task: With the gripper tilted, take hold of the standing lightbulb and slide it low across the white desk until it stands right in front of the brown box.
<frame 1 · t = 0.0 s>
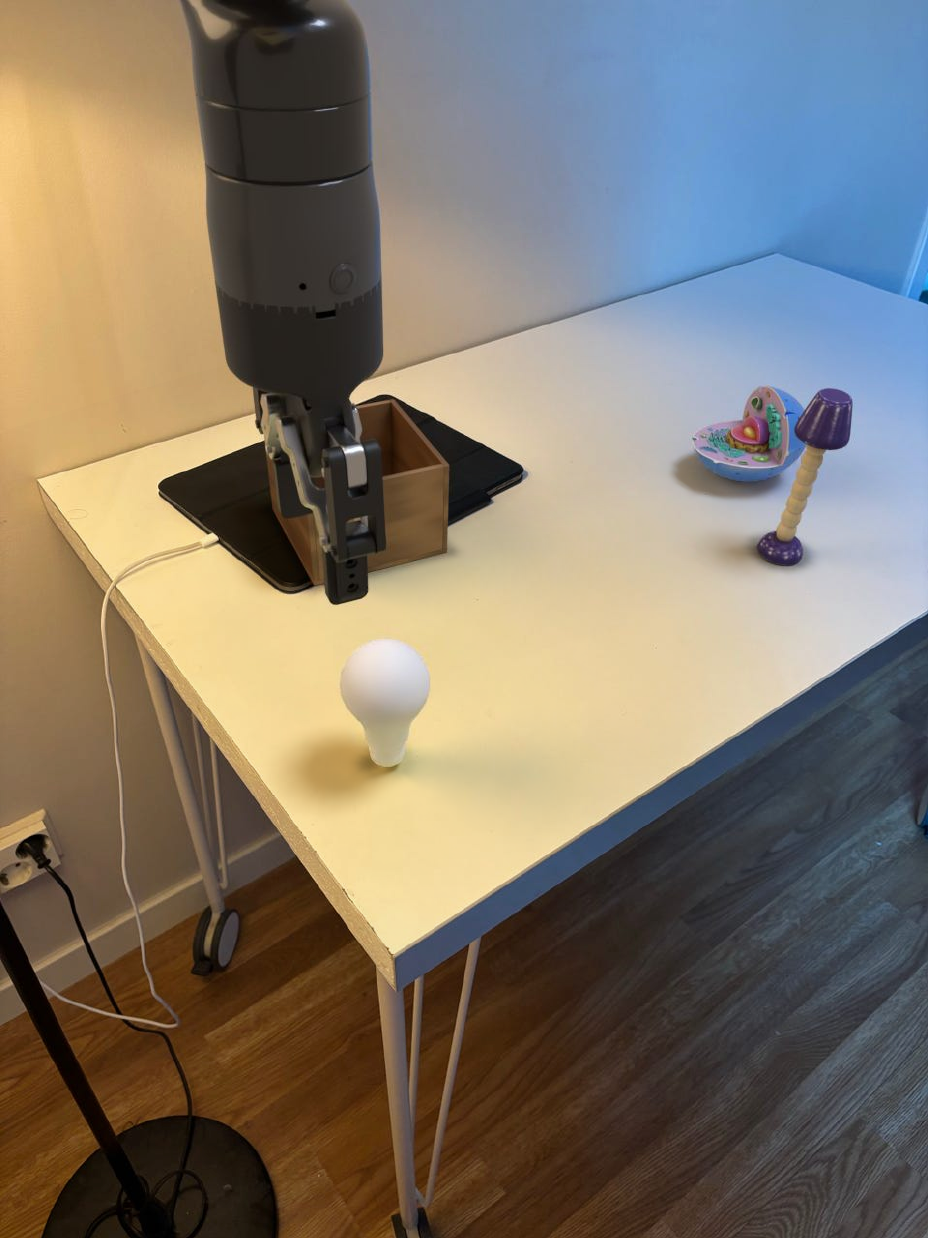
hand: (321, 553, 54), 21 cm above the table, tool pointing down, fingers open, 8 cm apart
box: (357, 530, 91), on the table
toy lamp: (782, 555, 91), on the table
lightbulb: (387, 762, 70), on the table
cell model: (740, 476, 101), on the table
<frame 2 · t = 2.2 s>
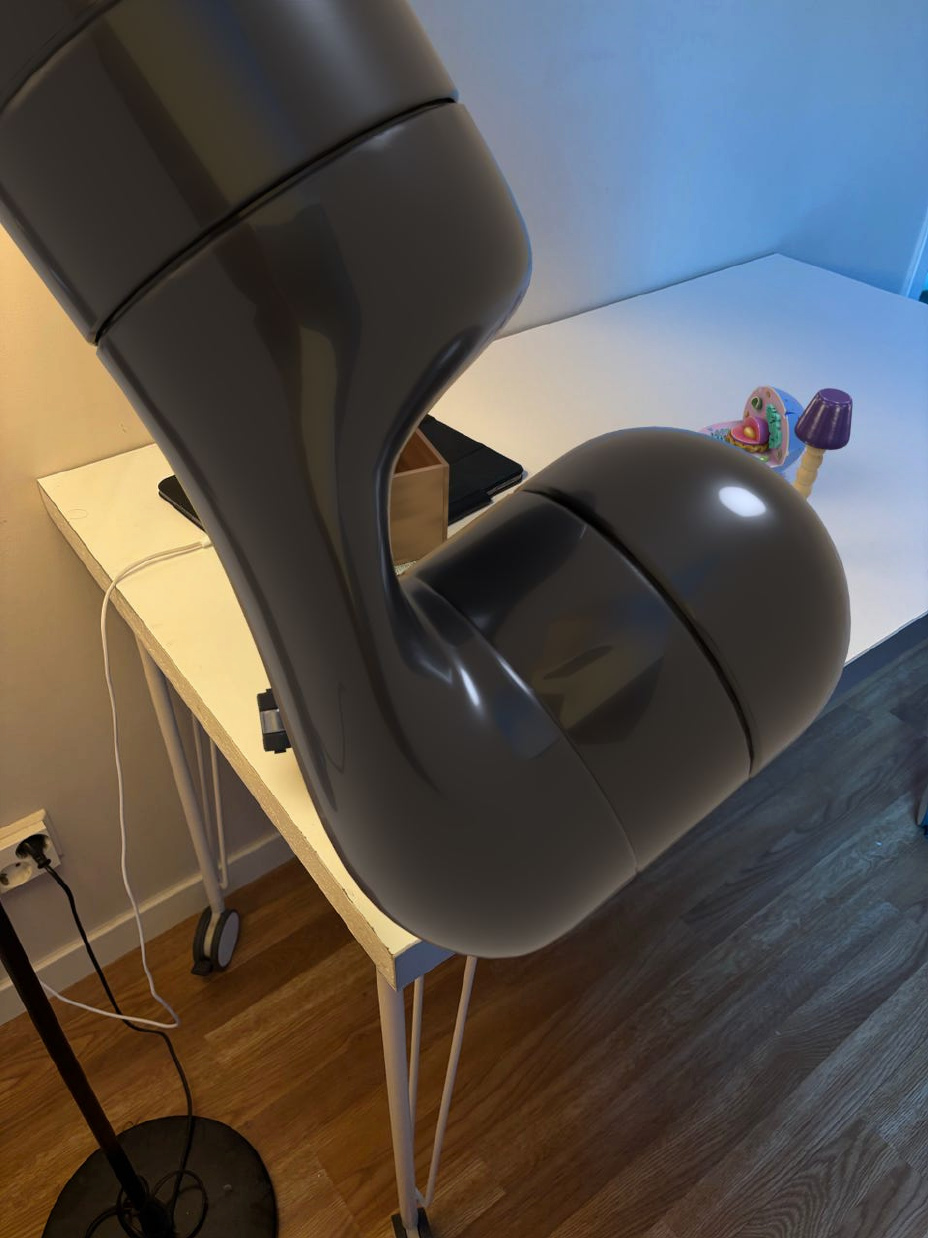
hand: (402, 700, 50), 18 cm above the table, tool tilted 45°, fingers open, 8 cm apart
nothing on the table moved.
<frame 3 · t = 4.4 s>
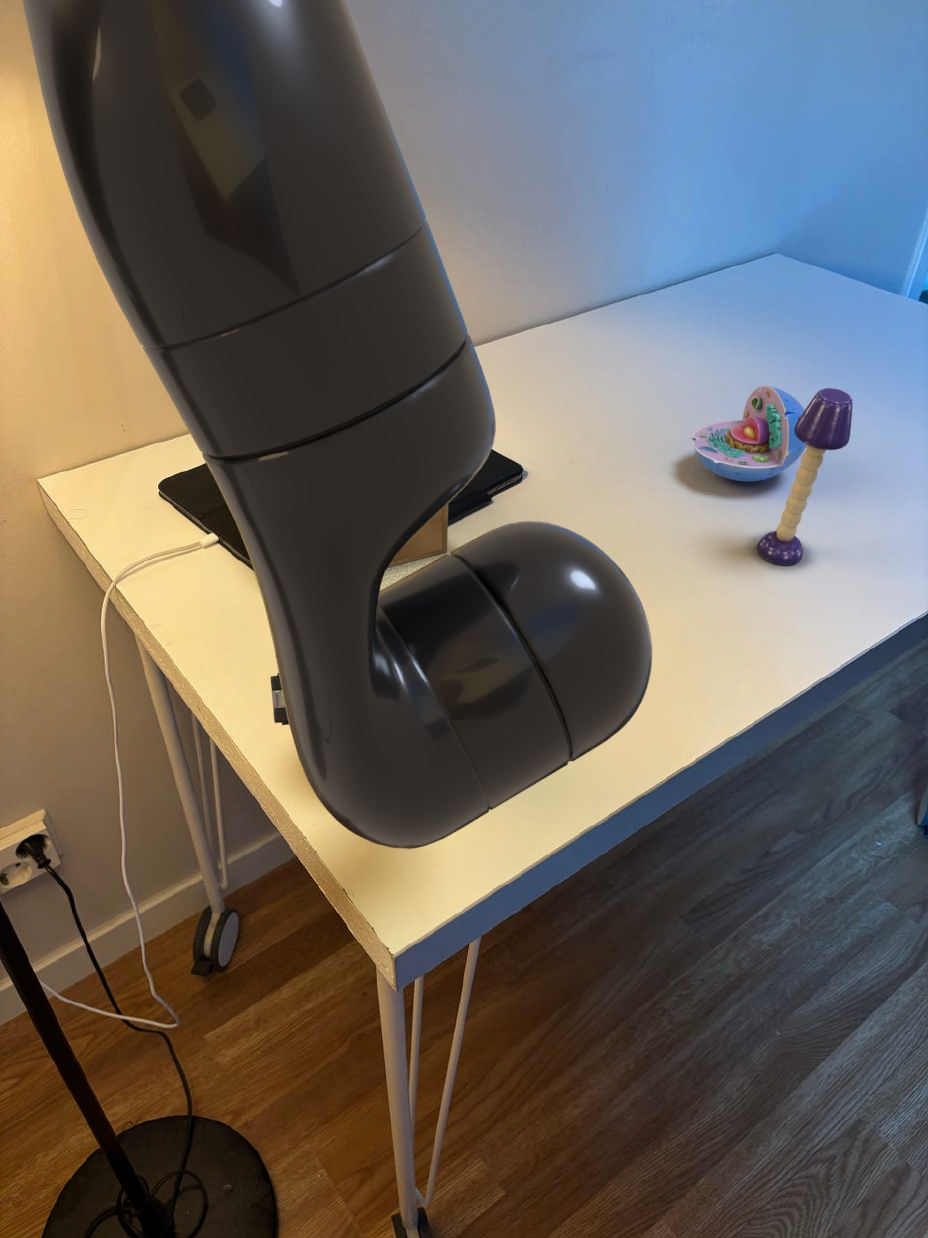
hand: (392, 687, 60), 11 cm above the table, tool tilted 45°, fingers open, 8 cm apart
nothing on the table moved.
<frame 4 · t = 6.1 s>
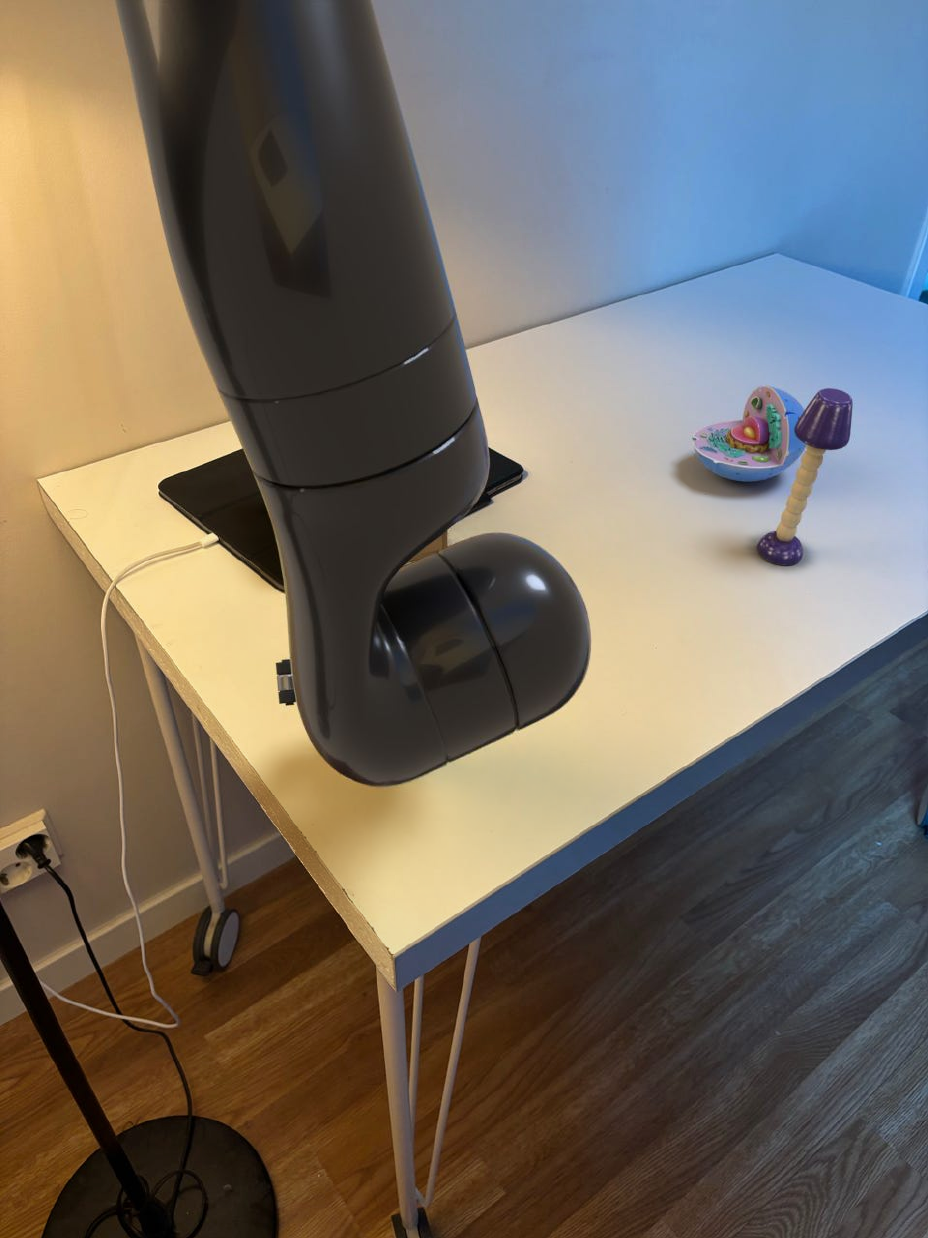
hand: (382, 674, 66), 7 cm above the table, tool tilted 45°, fingers closed on lightbulb, 6 cm apart
lightbulb: (387, 762, 70), on the table, touching gripper
everything else where it was.
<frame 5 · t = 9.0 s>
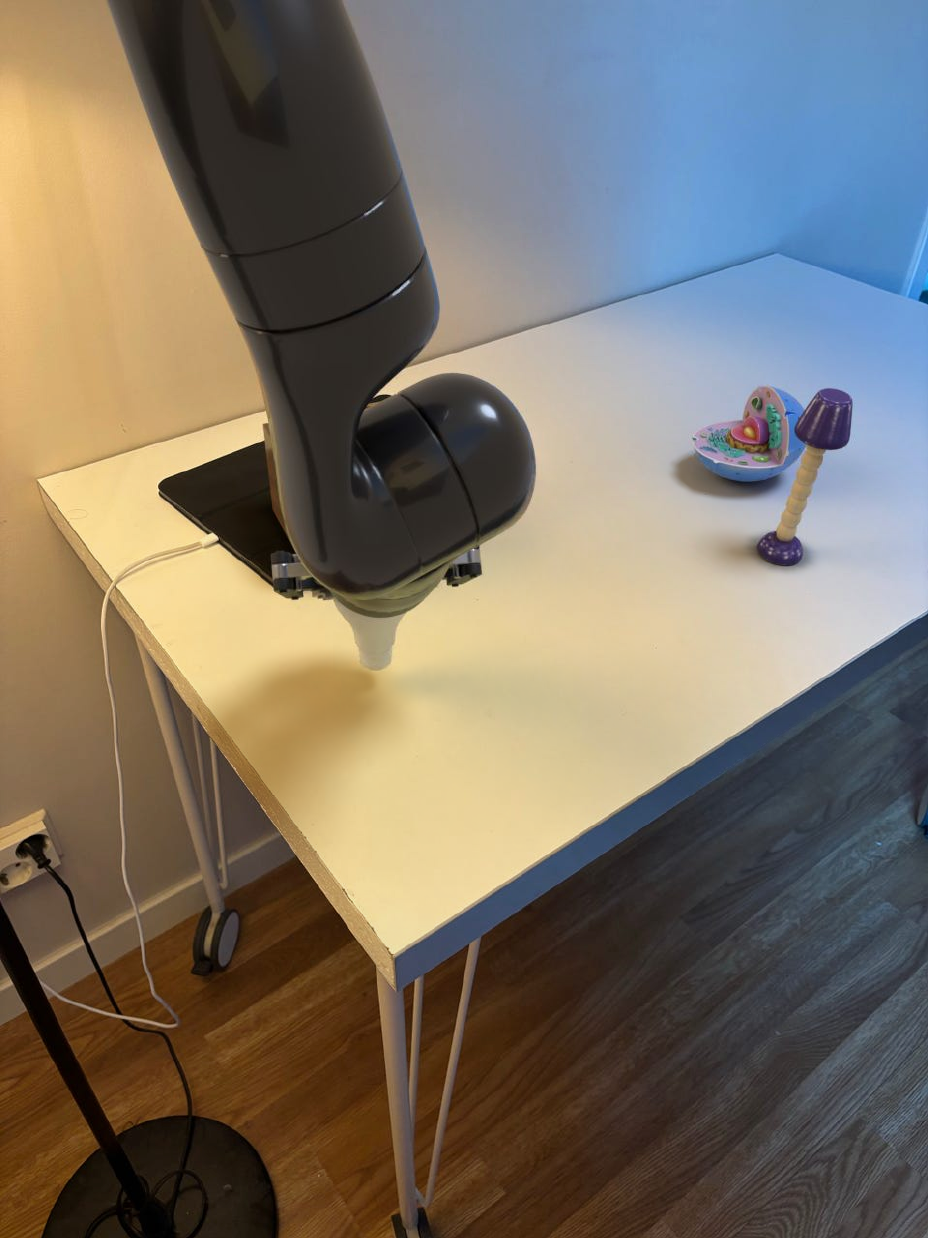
hand: (371, 582, 72), 9 cm above the table, tool tilted 45°, fingers closed on lightbulb, 6 cm apart
lightbulb: (375, 668, 75), point 1 cm above the table, touching gripper
everything else where it was.
when the fingers open (7 cm above the table, at t = 11.8 s): lightbulb stays where it is, on the table.
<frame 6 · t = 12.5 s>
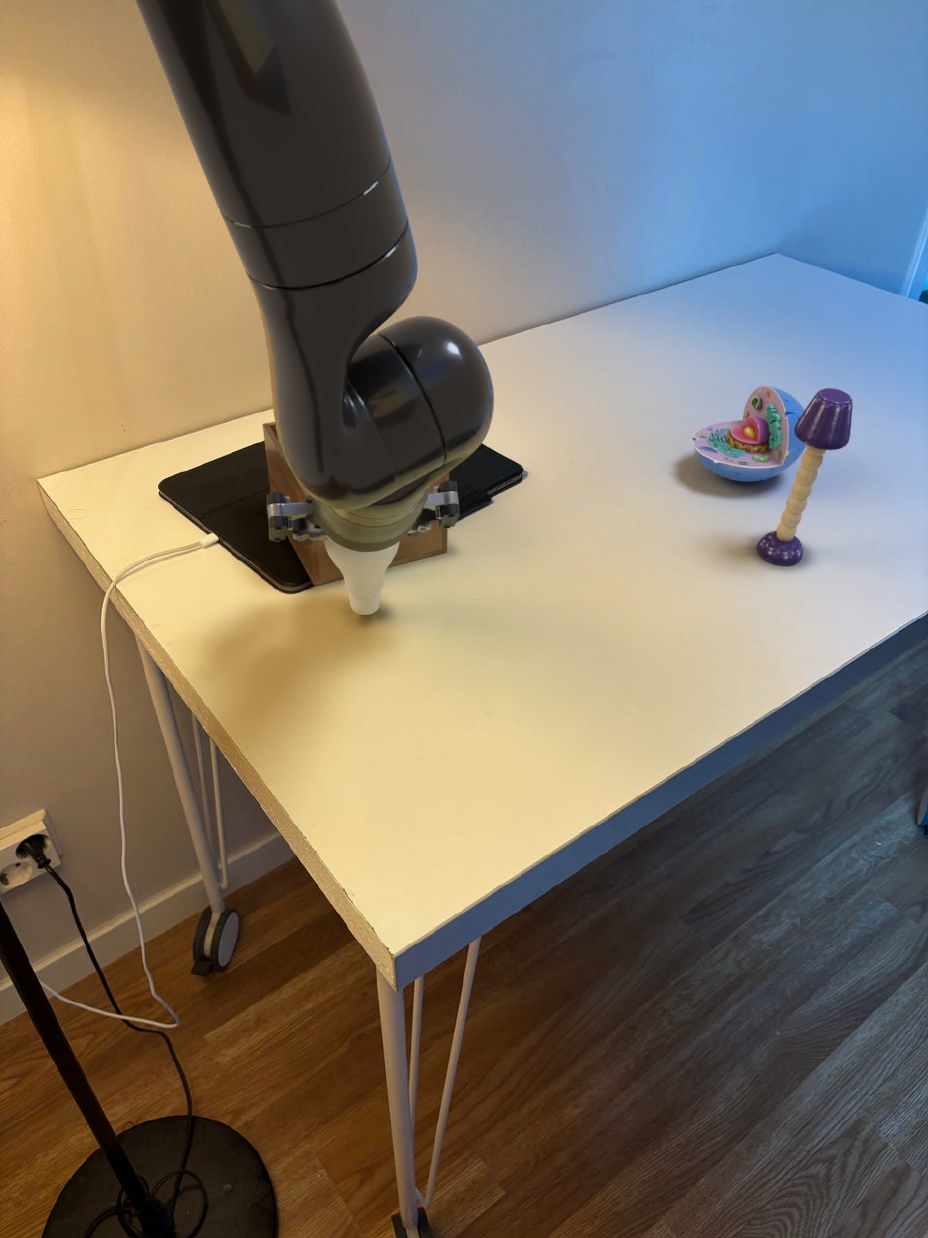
hand: (359, 528, 78), 8 cm above the table, tool tilted 45°, fingers open, 8 cm apart
lightbulb: (365, 613, 83), on the table
everything else where it was.
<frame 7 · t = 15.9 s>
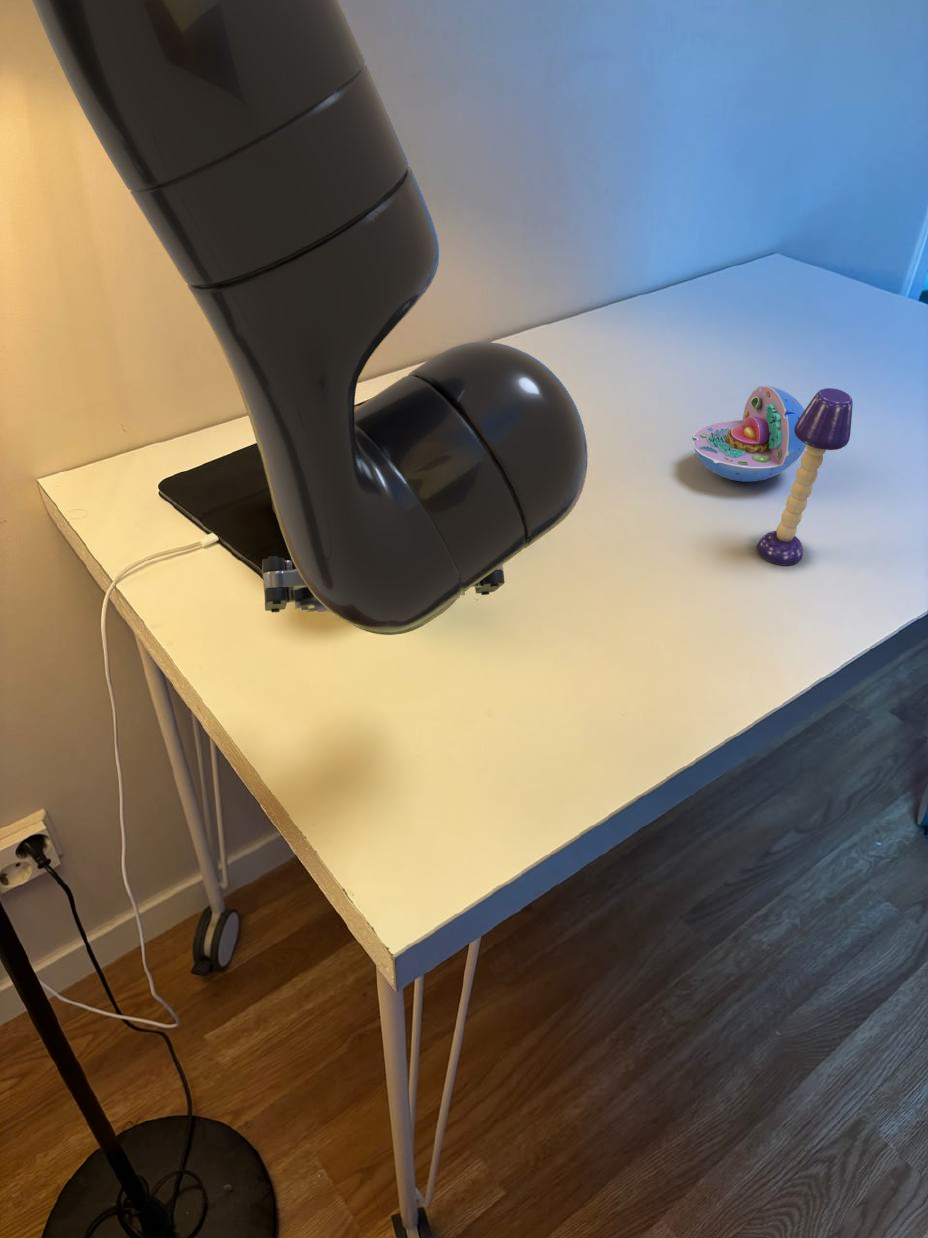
hand: (375, 590, 64), 13 cm above the table, tool tilted 45°, fingers open, 8 cm apart
nothing on the table moved.
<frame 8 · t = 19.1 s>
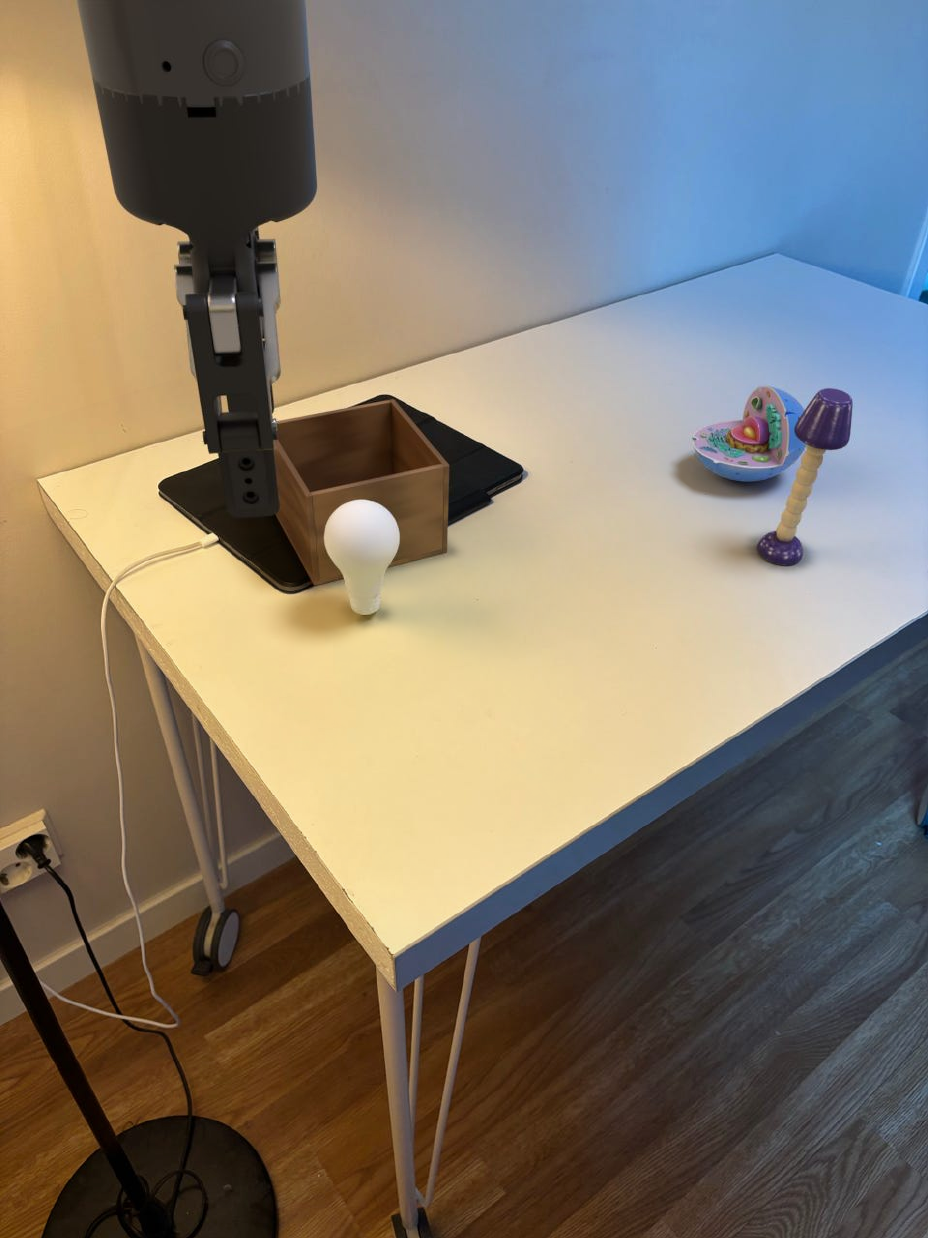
hand: (253, 460, 44), 30 cm above the table, tool pointing down, fingers open, 8 cm apart
nothing on the table moved.
at the end: lightbulb inside the target area on the table beside the box (2.3 cm from its centre), on the table; lightbulb moved 17.0 cm from its start; lightbulb tilted 0° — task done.
